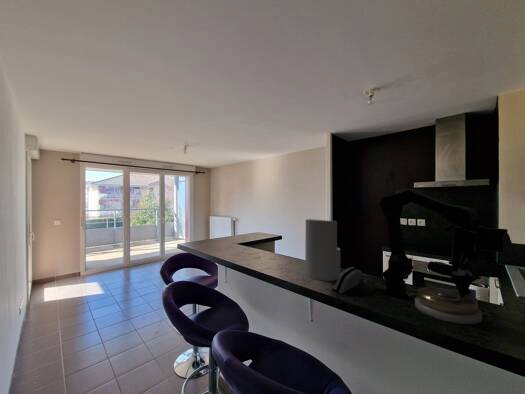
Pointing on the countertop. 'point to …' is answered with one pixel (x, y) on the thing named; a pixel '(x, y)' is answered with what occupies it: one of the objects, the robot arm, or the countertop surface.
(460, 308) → the shallow round tray
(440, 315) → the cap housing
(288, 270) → the countertop surface
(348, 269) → the dark grey curved piece
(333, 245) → the cylinder
